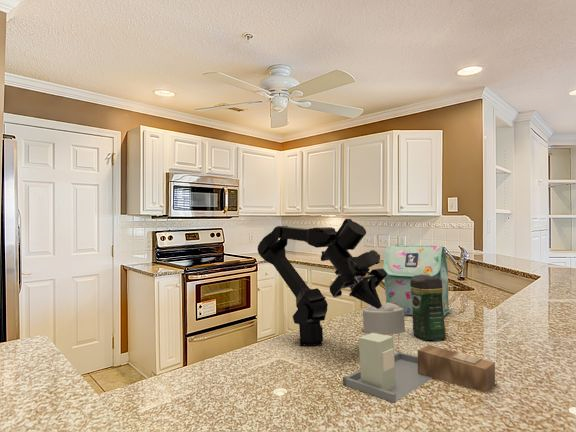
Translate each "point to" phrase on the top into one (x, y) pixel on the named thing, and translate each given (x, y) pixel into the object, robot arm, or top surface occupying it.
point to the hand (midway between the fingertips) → (380, 307)
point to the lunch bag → (413, 272)
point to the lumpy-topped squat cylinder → (384, 319)
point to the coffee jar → (427, 307)
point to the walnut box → (456, 368)
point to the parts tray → (405, 379)
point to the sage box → (377, 360)
